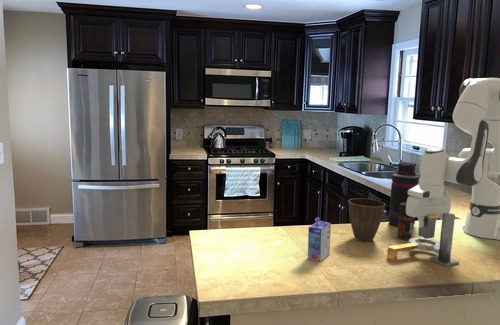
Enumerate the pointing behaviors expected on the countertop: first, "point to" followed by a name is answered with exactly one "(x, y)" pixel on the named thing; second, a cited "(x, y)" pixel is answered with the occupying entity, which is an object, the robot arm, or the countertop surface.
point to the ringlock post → (438, 247)
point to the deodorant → (404, 224)
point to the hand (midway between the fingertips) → (427, 226)
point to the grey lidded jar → (428, 227)
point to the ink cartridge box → (319, 240)
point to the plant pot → (365, 217)
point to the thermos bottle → (402, 188)
